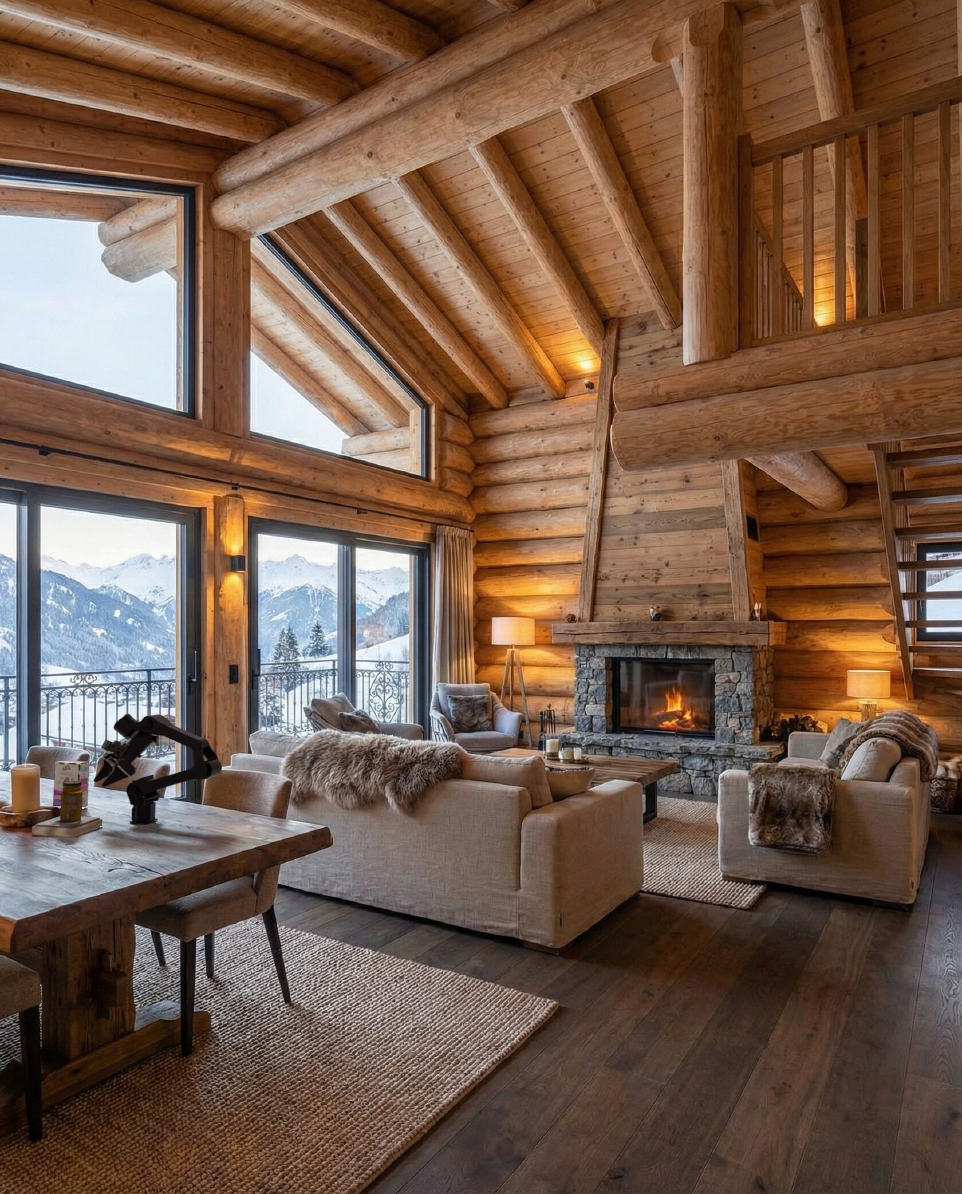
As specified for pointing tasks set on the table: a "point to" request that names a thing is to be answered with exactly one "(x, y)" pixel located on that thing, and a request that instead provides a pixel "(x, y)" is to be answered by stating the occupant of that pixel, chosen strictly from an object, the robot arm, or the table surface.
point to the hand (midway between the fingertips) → (98, 783)
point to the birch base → (66, 827)
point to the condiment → (71, 803)
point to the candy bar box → (70, 778)
